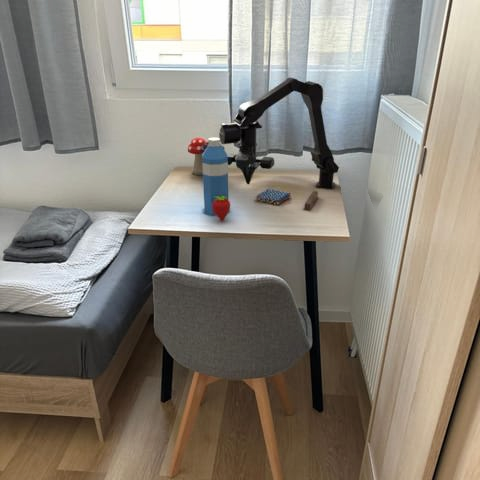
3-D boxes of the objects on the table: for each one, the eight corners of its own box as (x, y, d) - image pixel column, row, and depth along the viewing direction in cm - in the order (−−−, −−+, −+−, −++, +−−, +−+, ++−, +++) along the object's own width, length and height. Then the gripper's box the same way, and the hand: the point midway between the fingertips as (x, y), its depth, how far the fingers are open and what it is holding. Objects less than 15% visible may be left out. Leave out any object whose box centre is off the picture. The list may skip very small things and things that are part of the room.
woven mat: (266, 192, 192) (267, 187, 191) (291, 197, 187) (291, 192, 186) (254, 200, 184) (254, 195, 183) (279, 205, 180) (279, 200, 179)
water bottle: (233, 207, 178) (232, 136, 164) (224, 217, 171) (222, 143, 157) (209, 204, 181) (206, 134, 167) (199, 213, 174) (195, 141, 160)
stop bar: (312, 197, 187) (312, 190, 186) (317, 197, 187) (318, 191, 185) (304, 209, 176) (304, 203, 175) (309, 210, 176) (310, 203, 175)
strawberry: (209, 223, 166) (207, 194, 161) (218, 215, 172) (217, 187, 167) (224, 225, 164) (224, 197, 159) (233, 218, 170) (233, 190, 165)
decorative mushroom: (214, 171, 215) (213, 136, 206) (206, 177, 208) (205, 141, 200) (194, 169, 218) (192, 134, 209) (185, 175, 211) (183, 139, 203)
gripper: (216, 144, 173) (217, 188, 182) (266, 149, 168) (265, 193, 177) (227, 137, 182) (228, 179, 191) (275, 141, 177) (274, 183, 186)
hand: (248, 183), depth 186 cm, fingers closed
